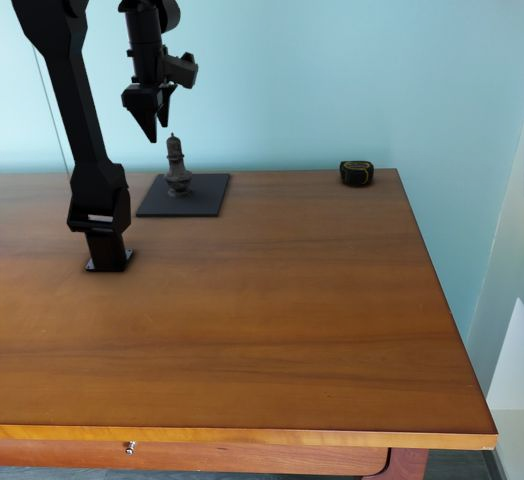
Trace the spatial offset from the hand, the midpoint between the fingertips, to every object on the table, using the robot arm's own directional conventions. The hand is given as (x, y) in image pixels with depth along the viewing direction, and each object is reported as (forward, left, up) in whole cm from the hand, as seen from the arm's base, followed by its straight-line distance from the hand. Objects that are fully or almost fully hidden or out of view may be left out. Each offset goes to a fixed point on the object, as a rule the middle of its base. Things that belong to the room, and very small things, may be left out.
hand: (159, 134), depth 100 cm
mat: (+2, -3, -13) cm, 13 cm away
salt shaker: (+2, -2, -12) cm, 12 cm away
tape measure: (+9, -38, -13) cm, 41 cm away
